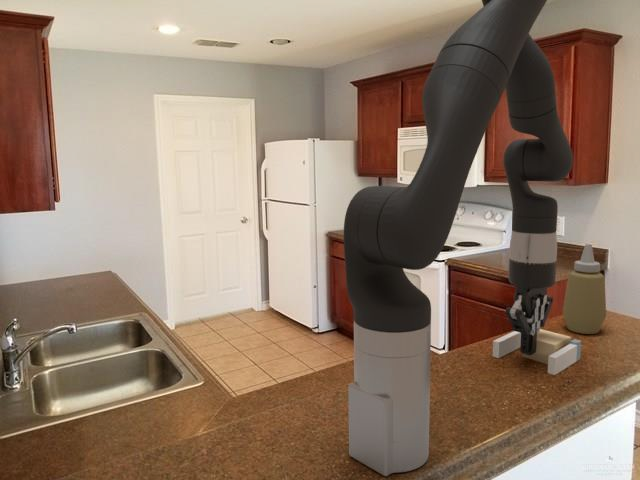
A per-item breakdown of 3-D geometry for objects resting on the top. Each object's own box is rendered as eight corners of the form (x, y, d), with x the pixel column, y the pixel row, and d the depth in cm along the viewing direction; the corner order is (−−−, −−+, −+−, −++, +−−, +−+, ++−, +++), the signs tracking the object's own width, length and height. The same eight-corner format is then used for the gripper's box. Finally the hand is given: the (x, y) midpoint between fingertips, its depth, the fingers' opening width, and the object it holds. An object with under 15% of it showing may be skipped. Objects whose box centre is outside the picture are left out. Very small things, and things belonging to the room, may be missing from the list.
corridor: (554, 375, 87) (555, 355, 87) (492, 356, 96) (493, 338, 95) (580, 359, 94) (581, 340, 93) (519, 342, 102) (520, 326, 101)
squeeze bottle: (594, 339, 103) (600, 250, 100) (554, 329, 109) (559, 244, 106) (611, 330, 108) (618, 244, 105) (572, 321, 114) (577, 240, 111)
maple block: (553, 366, 91) (554, 345, 90) (521, 357, 96) (522, 336, 95) (570, 358, 95) (571, 337, 94) (538, 349, 99) (539, 328, 99)
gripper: (535, 266, 82) (530, 370, 85) (571, 254, 91) (566, 349, 94) (492, 259, 88) (488, 357, 91) (530, 249, 97) (526, 338, 99)
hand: (528, 353), depth 92 cm, fingers closed
